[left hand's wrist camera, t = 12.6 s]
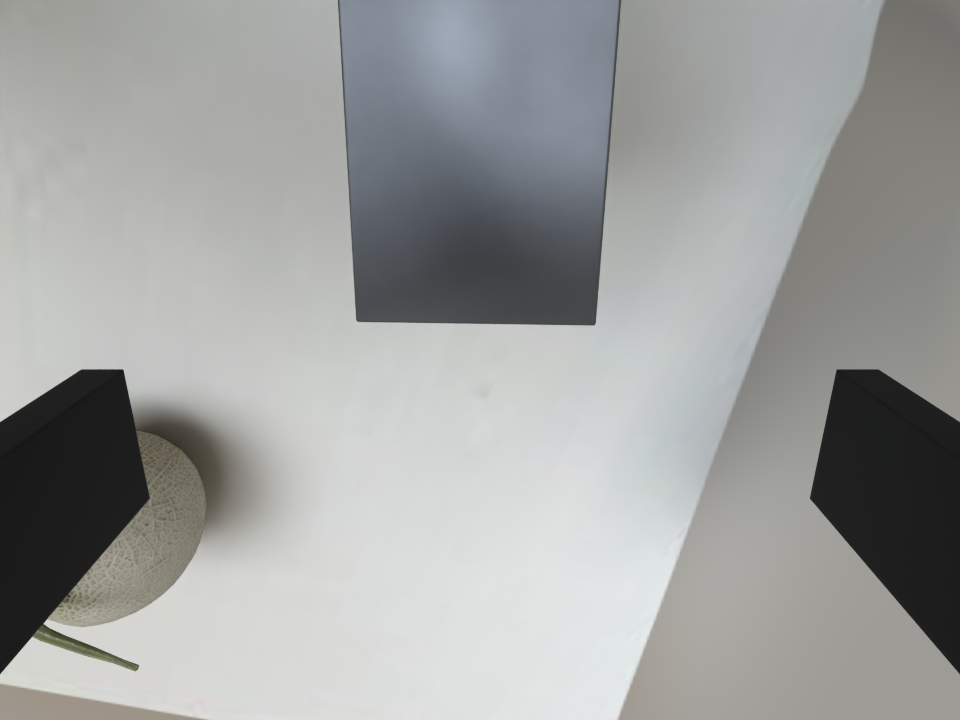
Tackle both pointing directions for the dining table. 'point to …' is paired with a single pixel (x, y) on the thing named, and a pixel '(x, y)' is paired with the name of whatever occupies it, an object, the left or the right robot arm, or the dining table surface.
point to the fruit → (139, 551)
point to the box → (478, 157)
